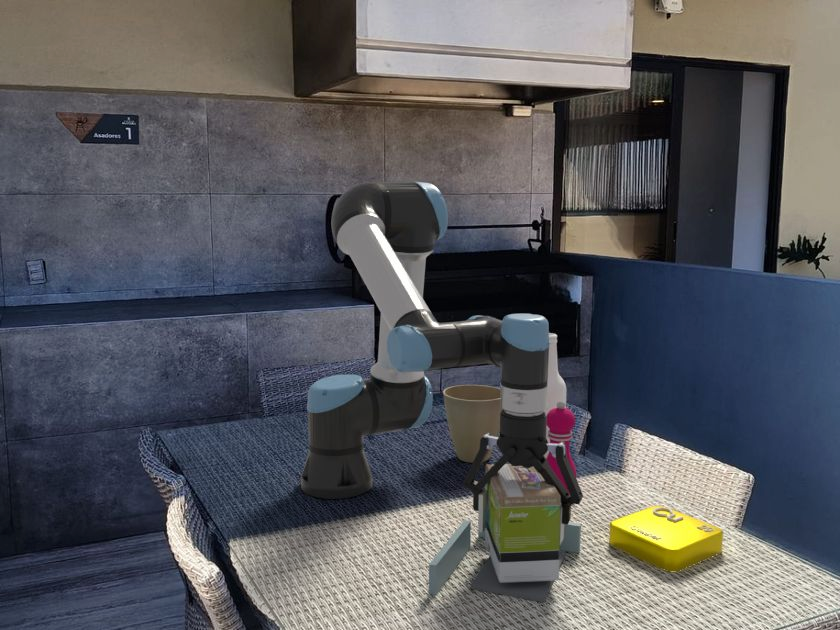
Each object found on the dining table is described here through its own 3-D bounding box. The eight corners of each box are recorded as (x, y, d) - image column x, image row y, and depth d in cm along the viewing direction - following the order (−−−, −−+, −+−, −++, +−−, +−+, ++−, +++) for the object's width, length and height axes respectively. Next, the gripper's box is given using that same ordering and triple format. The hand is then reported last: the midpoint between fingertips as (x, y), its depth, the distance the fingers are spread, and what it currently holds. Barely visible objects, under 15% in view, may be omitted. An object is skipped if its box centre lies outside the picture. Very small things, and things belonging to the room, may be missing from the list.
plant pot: (487, 473, 182) (488, 404, 180) (430, 461, 190) (431, 394, 188) (516, 454, 195) (518, 389, 192) (462, 443, 203) (462, 381, 200)
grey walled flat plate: (428, 593, 129) (428, 564, 128) (474, 533, 151) (474, 507, 151) (551, 617, 122) (552, 586, 121) (580, 550, 144) (581, 523, 144)
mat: (470, 588, 131) (470, 585, 131) (498, 544, 147) (498, 541, 146) (544, 602, 127) (544, 598, 127) (565, 555, 142) (565, 552, 142)
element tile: (604, 544, 148) (605, 519, 147) (657, 524, 156) (658, 500, 156) (672, 576, 136) (674, 549, 135) (726, 553, 144) (728, 527, 144)
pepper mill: (575, 501, 166) (578, 406, 163) (539, 498, 168) (542, 404, 165) (576, 488, 173) (579, 397, 170) (541, 486, 175) (544, 395, 172)
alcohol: (566, 456, 193) (570, 332, 188) (560, 469, 185) (564, 339, 180) (530, 452, 196) (533, 329, 191) (522, 464, 188) (525, 336, 183)
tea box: (482, 542, 143) (484, 461, 141) (539, 540, 144) (541, 460, 142) (497, 584, 128) (499, 495, 126) (560, 582, 129) (563, 493, 127)
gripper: (444, 408, 133) (443, 532, 137) (596, 424, 124) (591, 556, 128) (458, 397, 140) (457, 515, 143) (603, 411, 131) (598, 537, 135)
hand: (520, 535), depth 136 cm, fingers closed on tea box, 12 cm apart
